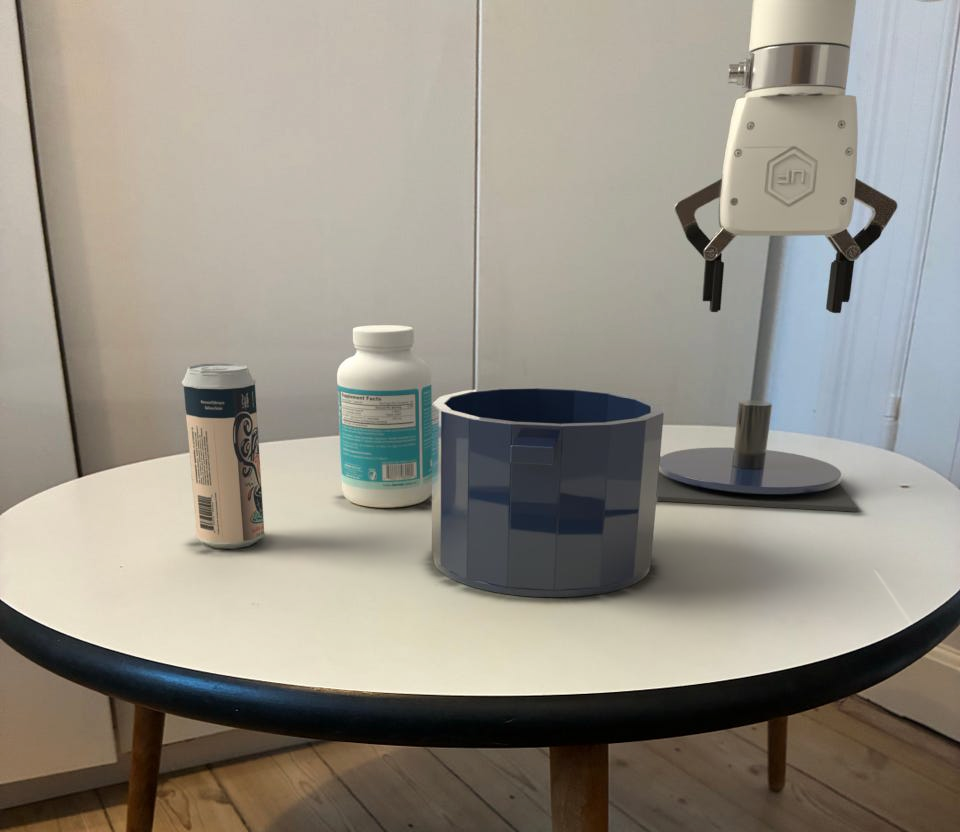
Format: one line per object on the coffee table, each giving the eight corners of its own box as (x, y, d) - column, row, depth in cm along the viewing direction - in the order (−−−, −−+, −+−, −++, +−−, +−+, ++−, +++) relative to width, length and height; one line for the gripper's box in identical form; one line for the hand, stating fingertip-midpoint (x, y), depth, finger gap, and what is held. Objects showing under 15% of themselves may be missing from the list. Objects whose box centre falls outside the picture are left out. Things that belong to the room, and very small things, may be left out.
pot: (649, 526, 78) (660, 386, 74) (650, 620, 59) (666, 440, 55) (459, 515, 80) (461, 378, 76) (404, 603, 61) (402, 427, 57)
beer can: (268, 548, 71) (257, 371, 66) (197, 553, 70) (181, 372, 65) (262, 529, 75) (251, 361, 70) (194, 533, 74) (179, 362, 69)
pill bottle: (382, 483, 89) (379, 321, 84) (450, 496, 85) (451, 327, 80) (322, 500, 83) (315, 327, 78) (392, 515, 79) (389, 334, 74)
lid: (823, 464, 97) (834, 392, 95) (855, 506, 83) (868, 423, 80) (655, 456, 99) (661, 385, 97) (657, 496, 85) (665, 414, 82)
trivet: (824, 468, 98) (825, 464, 97) (856, 512, 83) (857, 507, 83) (655, 460, 100) (655, 456, 99) (657, 501, 85) (657, 496, 85)
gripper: (684, 75, 77) (669, 313, 83) (925, 69, 74) (891, 315, 81) (680, 88, 84) (667, 308, 90) (901, 83, 81) (872, 309, 88)
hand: (773, 311), depth 85 cm, fingers open, 9 cm apart
